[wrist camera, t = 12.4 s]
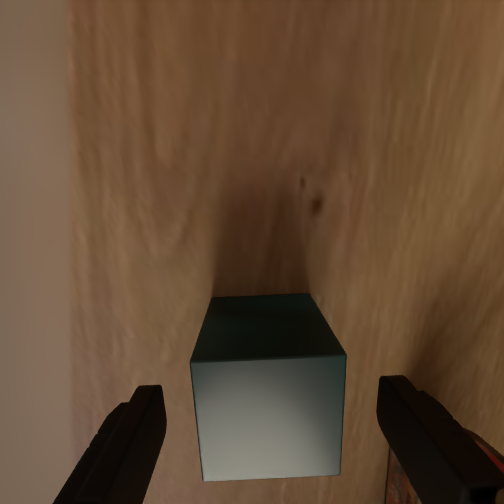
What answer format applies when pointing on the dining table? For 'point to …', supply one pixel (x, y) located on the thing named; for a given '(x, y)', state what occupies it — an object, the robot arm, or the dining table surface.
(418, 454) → the robot arm
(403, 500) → the tin
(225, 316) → the block
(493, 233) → the dining table surface
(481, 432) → the dining table surface
